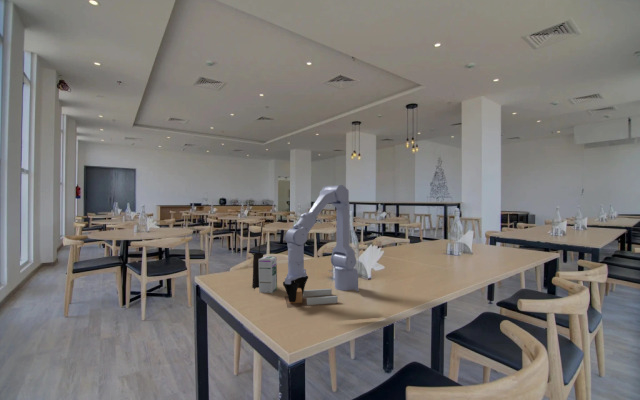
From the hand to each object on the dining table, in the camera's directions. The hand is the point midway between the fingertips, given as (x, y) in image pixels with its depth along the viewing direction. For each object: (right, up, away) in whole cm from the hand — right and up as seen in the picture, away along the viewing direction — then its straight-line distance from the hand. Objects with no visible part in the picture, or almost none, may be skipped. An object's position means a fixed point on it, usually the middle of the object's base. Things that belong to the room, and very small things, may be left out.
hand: (296, 298), depth 108 cm
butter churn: (-19, -2, +21) cm, 28 cm away
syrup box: (-12, -2, +13) cm, 18 cm away
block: (0, -1, 0) cm, 1 cm away
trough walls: (+9, -1, +2) cm, 9 cm away
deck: (+5, -2, +1) cm, 6 cm away
